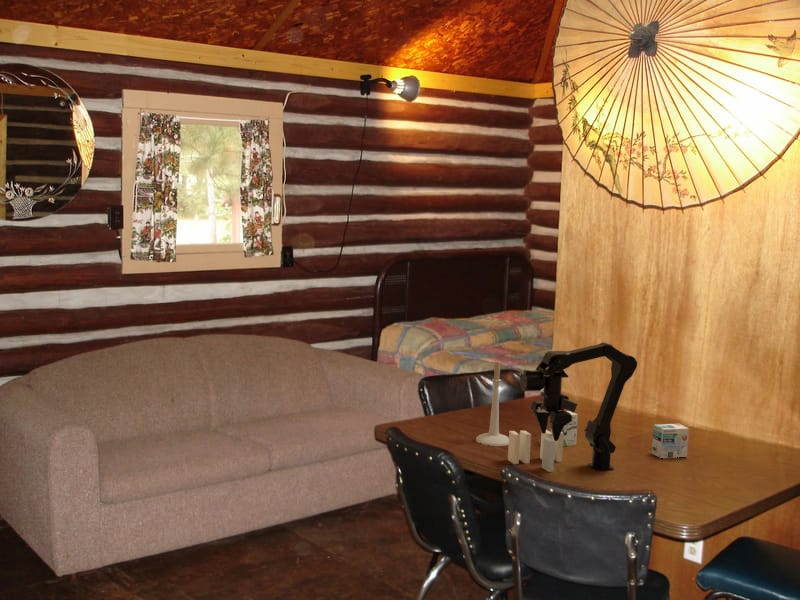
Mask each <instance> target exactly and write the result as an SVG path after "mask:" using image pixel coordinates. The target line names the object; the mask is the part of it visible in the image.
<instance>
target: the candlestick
mask: <svg viewBox="0 0 800 600" xmlns="http://www.w3.org/2000/svg"><path fill="white" fill-rule="evenodd" d="M500 374H501V361H499V360H496V361H494V371H493V378H492V379H491V381H492V385H493V390H492V391H493V392H492V400H491V410H490V418H489V429H488V432H485V433H482V434H479V435H477V437H476V438H475V441H476V443H478V444H480V443H481V444H480V445H484V446H488V445H489V447H505V446H509V436H507V435H504V434H501V433H500V428H499V427H500V419H499V417H500V416H499V415H500V413H499V412H500V411H499V410H500V407H499V406H500V405H499V402H500V400H499V399H500V396H499V395H500V389H499V386H500V385H501V382H502V379H500Z"/></svg>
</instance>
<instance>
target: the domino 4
mask: <svg viewBox="0 0 800 600" xmlns="http://www.w3.org/2000/svg"><path fill="white" fill-rule="evenodd" d="M554 454H555V442H554V441H553V440H551V439H549V438H544V440H543V456H542V459H541V460H542V461H541V468H542V469H544V470H545V471H546V472H547V473H554V471H555V470H554V468H555V460H554Z"/></svg>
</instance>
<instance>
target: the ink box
mask: <svg viewBox="0 0 800 600" xmlns="http://www.w3.org/2000/svg"><path fill="white" fill-rule="evenodd" d="M565 411H566V412H568V413H570V414H571V415H572V422H570V423H569V424H566V425H565V426H564V427H563V429H562V431H561V432H563V433H564V434H563V447H571V446H573V447H574V446H576V445H577V436H578V435H577V433H578V420H579V419H578V418H579V414H578V413H575V412H574V413H573V412H571V411H569V410H565ZM550 432H551V433H552V430H551V429H550Z"/></svg>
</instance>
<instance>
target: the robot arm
mask: <svg viewBox="0 0 800 600" xmlns="http://www.w3.org/2000/svg"><path fill="white" fill-rule="evenodd" d="M604 357H605V358H606V359H607V360H609V361H610V362H611V365H610V370H611V371H610V373H611V376H610V377H611V378H610V379H609V380H610V381H609V383H608V386H607V388H606V391H605V394H604V397H603V399H602V402H601V405H600V407H599V410H598V413H597V416H596V417H595V419H593V420H590V419H589V420H588V421H587V426H586V428H585V429H584V432H585V433H584V434H585V435H584V436H585V438H586V440H587V442H588V443H589V447H591V448H592V457H591V463H587V465H588V466H589V467H590V468H592V469H594V470H596V471H611V470H612V471H613V470H614V469H615V468H614V467H613V466H612V465H611V454H614V453H615V451H616V448H617V446H616V445H615V444H614V443H613V442H612V441H611V433H612V427H611V424H612V423H611V422H612V419H613V417H614V414H615V411H616V409H617V406H618V403H619V401H620V398H621V395H622V393H623V391H624V388H625V385H626V383H627V381H628V380H630V378H632V377H633V375H634V373H635V371H636V369H638V368H637V367H638V362H637V359H636V358H635V357H634V356H632V355H629V354H627V353H624V352H621V351H620V350H619V349H617V348H616V347H614V345H612V344H611V343H607V342H604V341H603V342H601V343H599V344H593V345H589V346H585V347H581V348H576V349H573V350H549V351H547V352H545V353H544V355H543V357H542V360H541V361H540V363H539V364H538V365H537V367H536V368H535V370H532V369H531V370H529V369H523V373H522V375H521V377H520V379H519V380H520V382H519V383H520V384H519V385H520V388H521V390H522V392H539V391H540V396H542V400H534V401H533V402H532V403H531V406H530V410H532V413H533V414H534V416H535V419H536V421H537V423H538V427H539V428H540V431H541V432H542V433H546V430H547V428H548V422H549V424H550V431H551V430H552V434H553V438H554V441H558V439H559V436H560V434H561V431H562V429H563V427H564V426H565V425H566V424H569V423H570V422H572V415H571V414H570V413H568V412H566V411H571V412H573V413H575V411H576V410H577V407H578V403H576V402H575V401H572V400H570V399H569V396H567V395H564V394H563V393H562V387H563V386H562V383H563V382H562V381H563V378H569V375H568V374H567V373H566V372H565V371H566V369H568V368H570V367H571V366H572V365H574V364H577V363H578V364H579V363H583V362H587V361H591V360H595V359H599V358H604ZM542 390H543V391H542ZM549 419H550V420H549Z"/></svg>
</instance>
